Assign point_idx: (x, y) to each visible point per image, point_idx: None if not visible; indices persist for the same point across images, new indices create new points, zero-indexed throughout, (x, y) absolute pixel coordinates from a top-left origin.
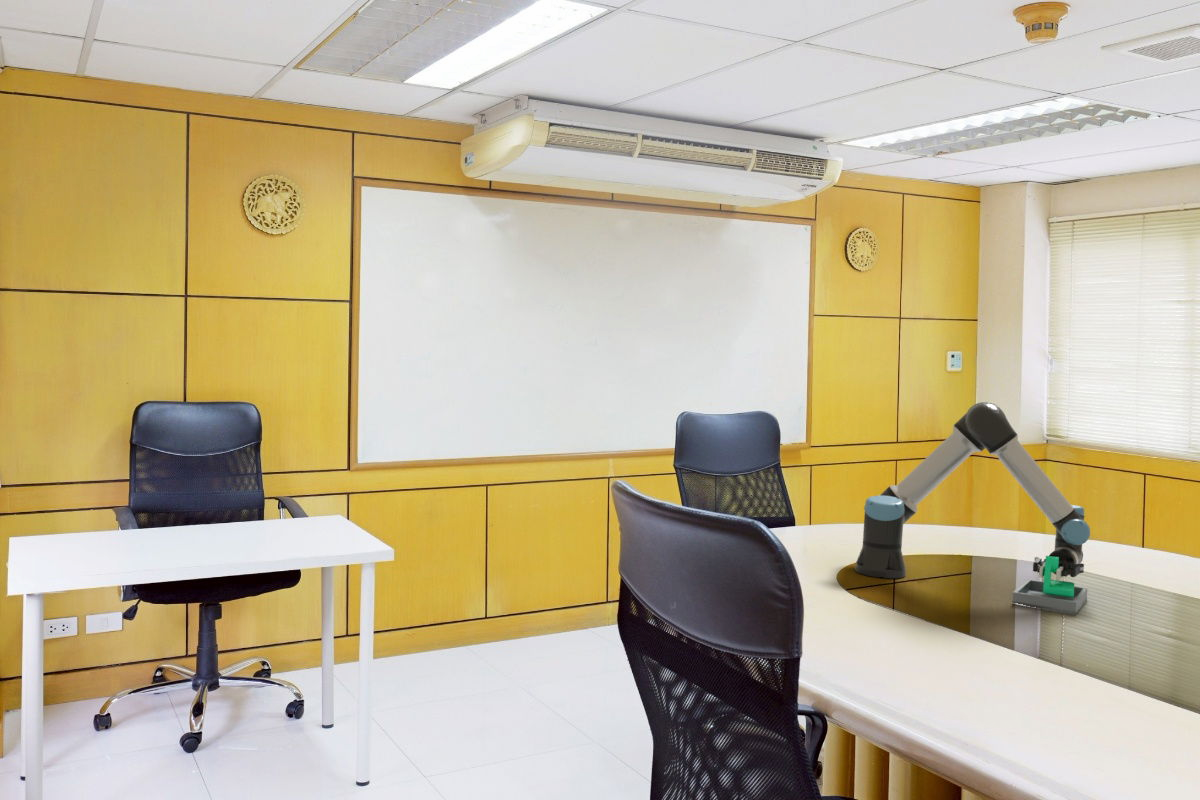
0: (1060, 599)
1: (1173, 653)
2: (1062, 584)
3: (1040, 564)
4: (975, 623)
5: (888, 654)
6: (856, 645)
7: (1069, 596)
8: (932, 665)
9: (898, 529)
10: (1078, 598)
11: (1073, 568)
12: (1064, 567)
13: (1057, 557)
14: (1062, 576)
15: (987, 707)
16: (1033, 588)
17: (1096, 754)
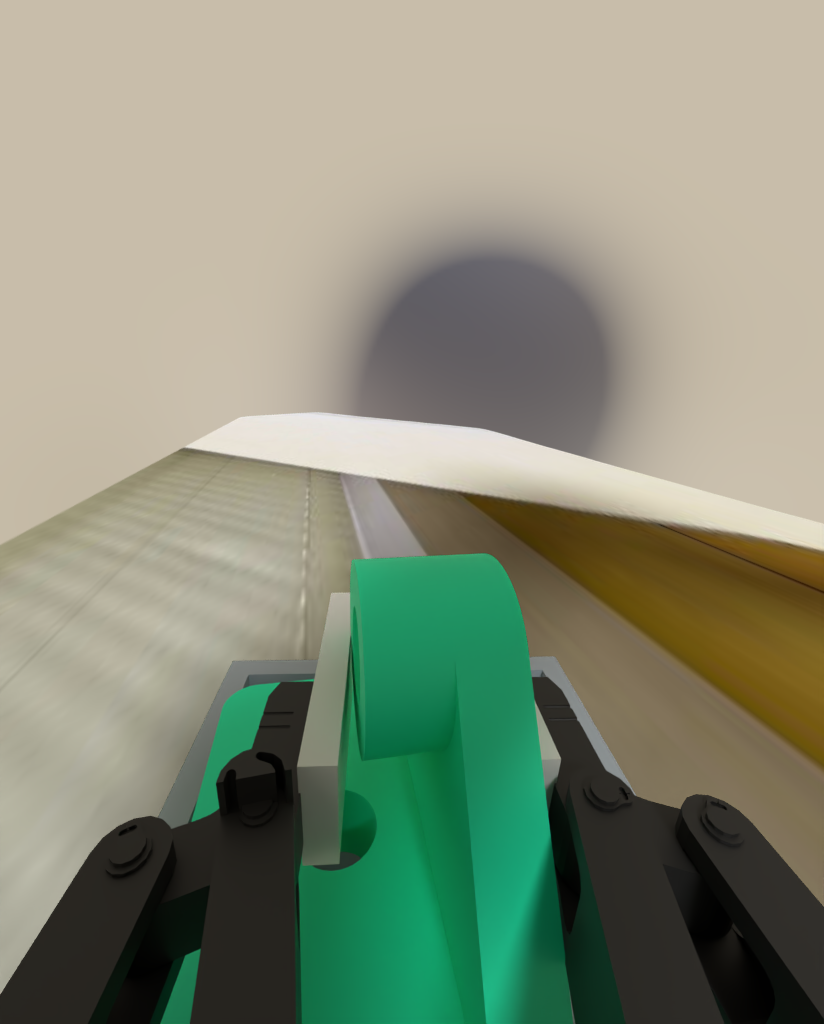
0: (315, 667)
1: (49, 539)
2: (302, 872)
3: (605, 775)
4: (485, 522)
5: (481, 449)
6: (521, 452)
7: None
8: (432, 447)
9: None
10: (191, 760)
11: (135, 820)
12: (279, 782)
13: (369, 560)
14: (304, 851)
15: (361, 430)
16: None
17: (287, 421)
